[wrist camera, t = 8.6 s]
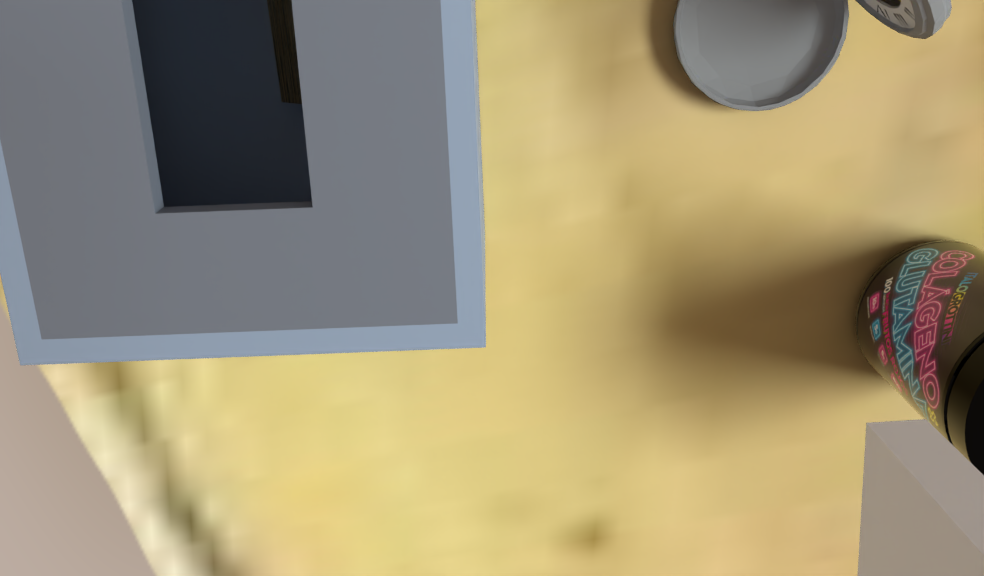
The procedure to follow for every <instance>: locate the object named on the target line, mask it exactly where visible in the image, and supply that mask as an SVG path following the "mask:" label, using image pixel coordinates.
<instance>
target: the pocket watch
mask: <svg viewBox="0 0 984 576" xmlns="http://www.w3.org/2000/svg"><path fill="white" fill-rule="evenodd" d="M856 1H857V2H858V3H859V4H860V5H861V6H862V7H863V8H864V9H865V10H866V11H868V12H869V13H870V14H871V15H873V16H874V17H875V18H876V19H878V20H879V21H880V22H882V23H883V24H885V25H886V26H888V27H890V28H891V29H893V30H895V31H897V32H898V33H901V34H904V35H907V36H910V37H913V38H921V39H926V38H928V37H930V36H932V35H933V34H934V33H936V32H937V31H938V30H939V29H940V28H941V27H942V25H943V23H944V21H945V20H946V19H947V18H948V17H949V16H950V12H951V8H952V7H951V0H856ZM848 17H849V10H848V0H679V1H678V5H677V9H676V13H675V17H674V22H673V27H674V41H675V45H676V50H677V56H678V59H679V61H680V63H681V64H682V66H683V68H684V70H685V72H686V73H687V75H688V77H689V78H690V80H691V82H692V83H693V84H694V85H695V86H696V87H697V88H699V89H700V90H701V91H702V92H703V93H704V94H706V95H707V96H708V97H709V98H710V99H712V100H713V101H715V102H717V103H720V104H722V105H725V106H728V107H731V108H734V109H738V110H748V111H762V110H771V109H774V108H778V107H782V106H785V105H787V104H789V103H791V102H793V101H795V100H797V99H799V98H801V97H802V96H804V95H805V94H806V93H808V92H809V91H810V90H812V89H813V88H814V87H816V86H817V85H818V84H819V82H820V81H821V80H822V79H823V78H824V77H825V76H826V74H827V73H828V72H829V71H830V70H831V68H832V67H833V65H834V63H835V62H836V60H837V58H838V56H839V53H840V51H841V48H842V46H843V43H844V41H845V38H846V32H847V25H848Z"/></svg>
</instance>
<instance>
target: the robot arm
mask: <svg viewBox="0 0 984 576" xmlns="http://www.w3.org/2000/svg"><path fill="white" fill-rule="evenodd" d="M858 576H984V475H983V474H982V473H981V472H980V471H979V470H978V469H977V468H976V467H975V466H974V465H973V464H972V463H971V462H970V461H968V460H967V459H966V458H965V457H964V456H963V455H962V454H961V453H960V452H959V451H958V450H957V449H956V448H955V447H954V446H953V445H952V444H951V443H950V442H949V441H948V440H947V439H946V438H945V437H944V436H943V435H942V434H941V433H940V432H939V431H938V430H936V429H935V428H934V427H933V426H932V425H931V424H930V423H929V422H928V421H927V420H926V419H923V420H906V421H890V422H873V423H866V440H865V457H864V474H863V491H862V509H861V526H860V543H859V560H858Z"/></svg>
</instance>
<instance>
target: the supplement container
mask: <svg viewBox="0 0 984 576" xmlns="http://www.w3.org/2000/svg"><path fill="white" fill-rule="evenodd" d="M856 335H857V340H858V343H859V346H860V349H861V351H862V353H863V355H864V356H865V358H866V360H867V361H868V362H869V363H870V365H871V366H872V367H873V368H874V369H875V370H876V371H877V372H878V373H879V374H880V375H881V376H882V377H883V378H884V379H885V380H886V381H887V382H888V383H889V384H890V385H891V386H892V387H893V388H894V389H895V390H896V391H897V392H898V393H899V394H900V395H901V396H902V397H903V399H904V400H905V401H906V402H907V403H908V404H909V405H910V406H911V407H912V408H913V409H914V410H915V411H916V412H917V413H918V414H919V415H920V416H921V417H922V418H923V419H926V420H927V421H928V422H929V423H930V424H931V425H932V426H933V427H934V428H935V429H936V430H938V431H939V432H940V433H941V434H942V435H943V436H944V437H945V438H946V439H947V440H948V441H949V442H950V443H951V444H952V445H953V446H954V447H955V448H956V449H957V450H958V451H959V452H960V453H961V454H962V455H963V456H964V457H965V458H966V459H967V460H968V461H970V462H971V463H972V464H973V465H974V466H975V467H976V468H977V469H978V470H979V471H980V472H981V473H982V474H983V475H984V251H983V250H981V249H979V248H977V247H975V246H973V245H970V244H967V243H963V242H957V241H934V242H928V243H923V244H919V245H916V246H913V247H911V248H908V249H906V250H904V251H902V252H900V253H898V254H897V255H895V256H893V257H892V258H890V259H889V260H888V261H887V262H885V263H884V264H883V265H882V266H881V267H880V268H879V269H878V270H877V271H876V272H875V273H874V274H873V276H872V277H871V279H870V280H869V281H868V283H867V285H866V286H865V288H864V290H863V292H862V294H861V297H860V300H859V303H858V307H857V312H856Z"/></svg>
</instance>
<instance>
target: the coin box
mask: <svg viewBox="0 0 984 576" xmlns="http://www.w3.org/2000/svg"><path fill="white" fill-rule="evenodd" d="M292 10H293V20H294V29H295V39H296V49H297V59H298V69H299V78H300V88H301V98H302V104H295V103H284V102H282V101H281V94H280V87H279V80H278V73H277V66H276V59H275V53H274V46H273V39H272V32H271V25H270V18H269V11H268V5H267V0H0V274H1V279H2V284H3V288H4V293H5V297H6V302H7V307H8V311H9V316H10V320H11V325H12V330H13V334H14V339H15V343H16V348H17V352H18V357H19V361H20V365H40V364H66V363H92V362H118V361H144V360H170V359H196V358H222V357H248V356H274V355H300V354H325V353H351V352H377V351H403V350H429V349H455V348H481V347H486V313H485V227H484V203H483V179H482V155H481V131H480V107H479V83H478V60H477V36H476V12H475V0H292Z"/></svg>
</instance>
